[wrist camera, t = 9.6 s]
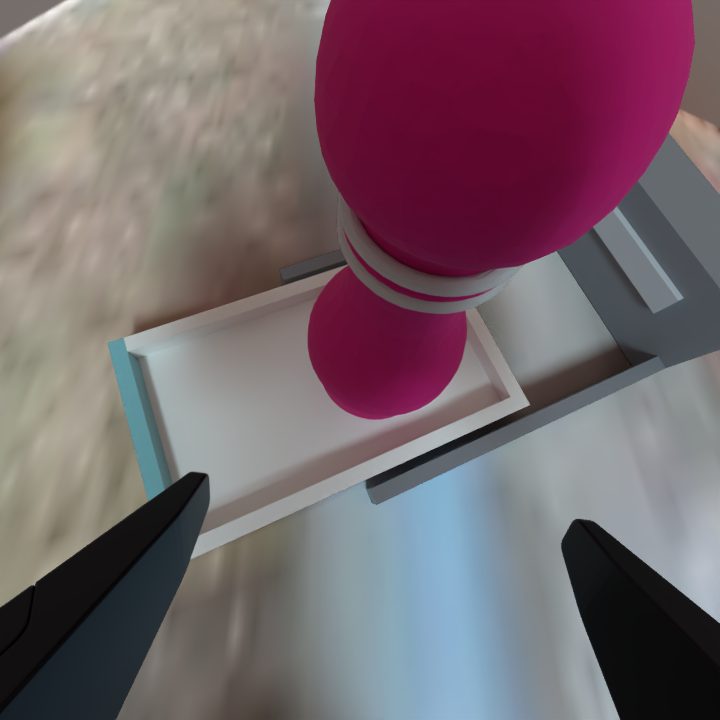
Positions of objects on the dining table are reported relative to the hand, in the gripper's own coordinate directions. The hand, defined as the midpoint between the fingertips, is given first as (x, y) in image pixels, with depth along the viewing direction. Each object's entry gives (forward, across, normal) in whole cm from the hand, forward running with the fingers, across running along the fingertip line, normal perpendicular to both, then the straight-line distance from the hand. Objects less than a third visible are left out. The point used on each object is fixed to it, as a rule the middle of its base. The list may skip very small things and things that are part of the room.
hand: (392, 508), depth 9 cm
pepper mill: (+13, 0, +3) cm, 13 cm away
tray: (+13, +3, +4) cm, 14 cm away
